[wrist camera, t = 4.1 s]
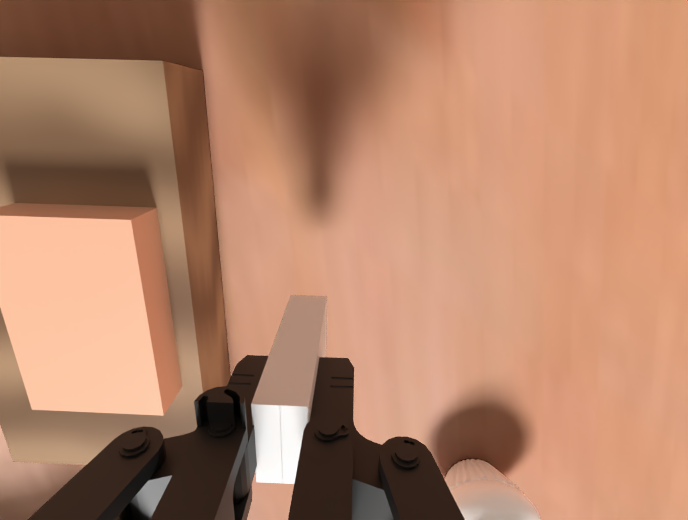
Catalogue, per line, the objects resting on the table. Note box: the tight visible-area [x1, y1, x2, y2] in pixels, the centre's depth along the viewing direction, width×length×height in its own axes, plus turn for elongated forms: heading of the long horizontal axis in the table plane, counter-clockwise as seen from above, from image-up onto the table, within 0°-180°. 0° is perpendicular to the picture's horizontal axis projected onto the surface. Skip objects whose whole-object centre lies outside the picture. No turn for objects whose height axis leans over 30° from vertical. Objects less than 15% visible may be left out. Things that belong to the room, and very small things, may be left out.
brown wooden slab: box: [0, 57, 230, 465], centre depth 20 cm, size 20×11×4 cm, turn 179°
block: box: [0, 203, 182, 416], centre depth 17 cm, size 9×6×2 cm, turn 179°
